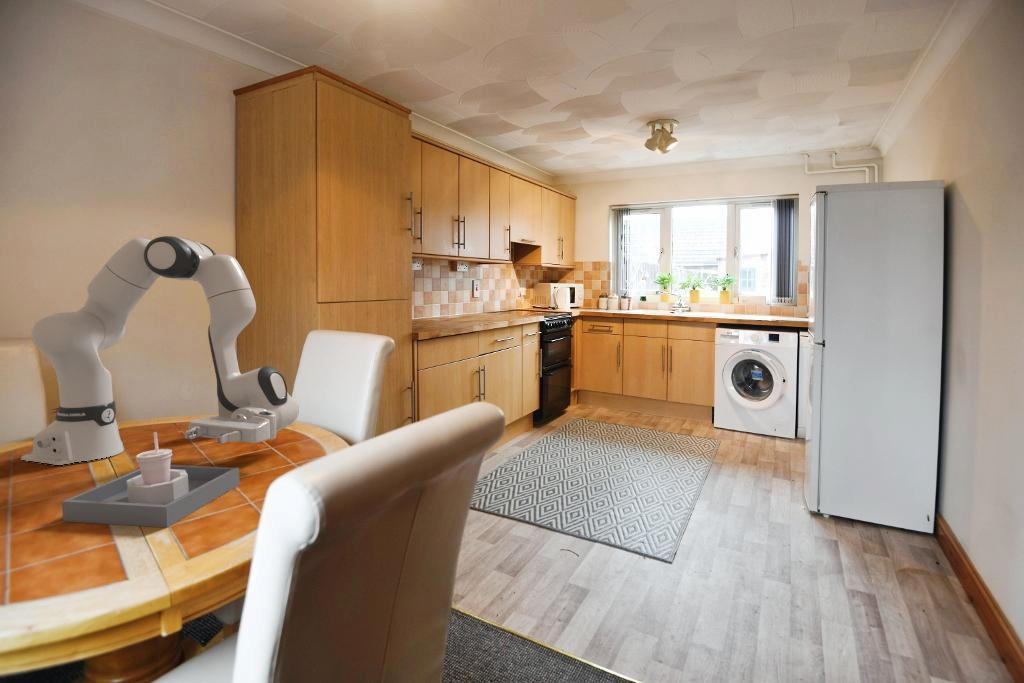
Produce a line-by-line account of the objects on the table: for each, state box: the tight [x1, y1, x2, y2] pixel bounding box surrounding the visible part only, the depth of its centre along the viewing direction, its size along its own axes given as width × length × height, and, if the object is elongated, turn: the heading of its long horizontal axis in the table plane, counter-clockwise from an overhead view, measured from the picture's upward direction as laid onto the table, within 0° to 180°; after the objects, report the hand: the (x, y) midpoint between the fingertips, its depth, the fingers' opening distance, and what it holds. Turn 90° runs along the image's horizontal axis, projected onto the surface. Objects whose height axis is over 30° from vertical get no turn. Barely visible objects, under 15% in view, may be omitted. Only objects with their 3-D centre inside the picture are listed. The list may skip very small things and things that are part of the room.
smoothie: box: [135, 431, 173, 485], centre depth 109 cm, size 6×6×14 cm
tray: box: [61, 464, 241, 528], centre depth 110 cm, size 22×22×5 cm
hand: (203, 437), depth 121 cm, fingers open, 8 cm apart
